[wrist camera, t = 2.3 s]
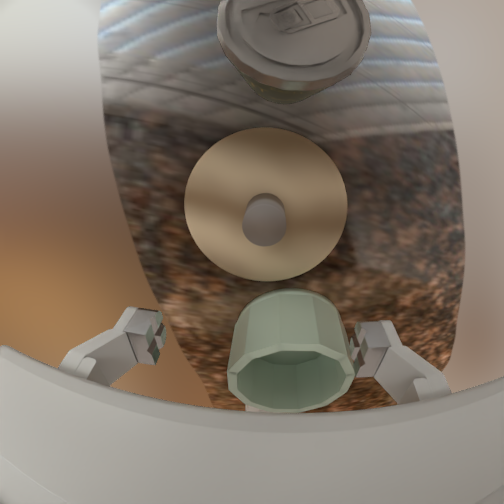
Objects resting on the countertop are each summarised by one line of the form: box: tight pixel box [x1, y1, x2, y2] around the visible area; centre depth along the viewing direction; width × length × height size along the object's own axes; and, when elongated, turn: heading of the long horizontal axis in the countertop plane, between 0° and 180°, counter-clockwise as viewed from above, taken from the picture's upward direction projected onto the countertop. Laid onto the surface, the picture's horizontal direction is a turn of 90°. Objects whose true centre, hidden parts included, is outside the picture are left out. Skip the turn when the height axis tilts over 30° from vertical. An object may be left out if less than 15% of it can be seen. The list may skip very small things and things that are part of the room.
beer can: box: [217, 0, 371, 104], centre depth 11 cm, size 5×5×12 cm
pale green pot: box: [227, 288, 355, 413], centre depth 25 cm, size 11×11×7 cm
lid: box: [184, 127, 348, 281], centre depth 20 cm, size 13×13×4 cm
